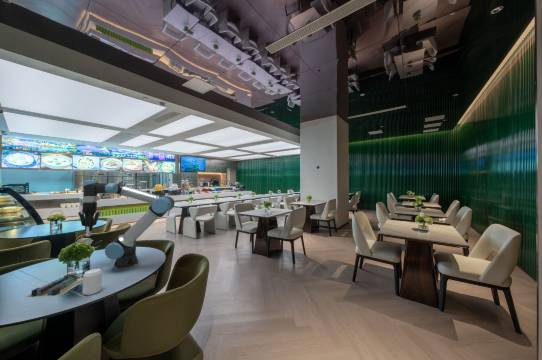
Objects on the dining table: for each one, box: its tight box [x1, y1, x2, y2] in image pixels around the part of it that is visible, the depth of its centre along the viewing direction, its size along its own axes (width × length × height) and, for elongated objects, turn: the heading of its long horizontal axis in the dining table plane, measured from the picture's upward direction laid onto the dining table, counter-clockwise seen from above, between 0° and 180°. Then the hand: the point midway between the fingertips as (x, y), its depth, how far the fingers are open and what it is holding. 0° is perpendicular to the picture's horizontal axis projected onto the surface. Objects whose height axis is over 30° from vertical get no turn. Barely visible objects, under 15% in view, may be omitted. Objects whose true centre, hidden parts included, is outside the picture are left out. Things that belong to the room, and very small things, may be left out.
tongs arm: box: [30, 272, 77, 297], centre depth 119 cm, size 6×21×4 cm, turn 5°
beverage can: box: [82, 268, 103, 296], centre depth 116 cm, size 8×8×12 cm
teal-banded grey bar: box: [46, 274, 78, 297], centre depth 120 cm, size 7×20×3 cm, turn 10°
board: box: [25, 277, 83, 298], centre depth 120 cm, size 17×21×1 cm
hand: (88, 235), depth 141 cm, fingers closed
